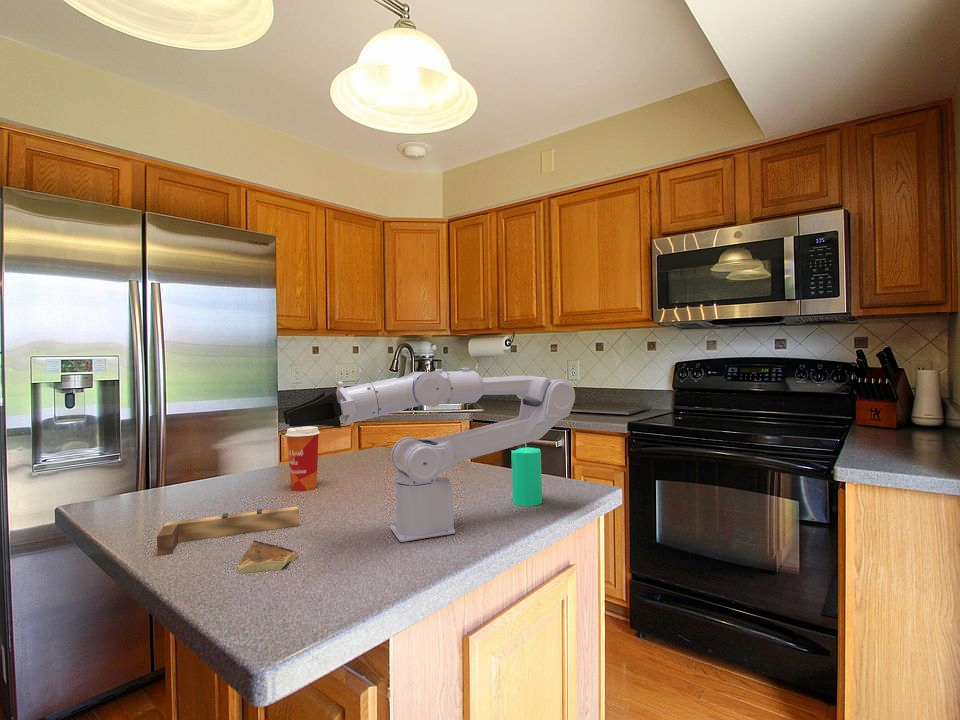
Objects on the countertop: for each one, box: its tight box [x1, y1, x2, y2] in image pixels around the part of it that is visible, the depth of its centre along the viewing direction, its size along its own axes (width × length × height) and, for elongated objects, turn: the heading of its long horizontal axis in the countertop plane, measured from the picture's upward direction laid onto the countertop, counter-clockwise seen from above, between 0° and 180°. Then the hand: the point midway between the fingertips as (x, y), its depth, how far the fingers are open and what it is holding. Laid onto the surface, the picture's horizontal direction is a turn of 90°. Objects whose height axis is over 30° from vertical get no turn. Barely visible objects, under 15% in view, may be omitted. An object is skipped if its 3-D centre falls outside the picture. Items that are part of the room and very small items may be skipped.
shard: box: [237, 540, 299, 575], centre depth 78 cm, size 11×8×2 cm
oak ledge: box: [156, 505, 300, 557], centre depth 87 cm, size 21×8×3 cm, turn 112°
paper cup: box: [284, 426, 321, 492], centre depth 121 cm, size 8×8×14 cm
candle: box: [510, 443, 543, 507], centre depth 104 cm, size 6×6×12 cm
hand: (286, 418), depth 79 cm, fingers open, 7 cm apart
